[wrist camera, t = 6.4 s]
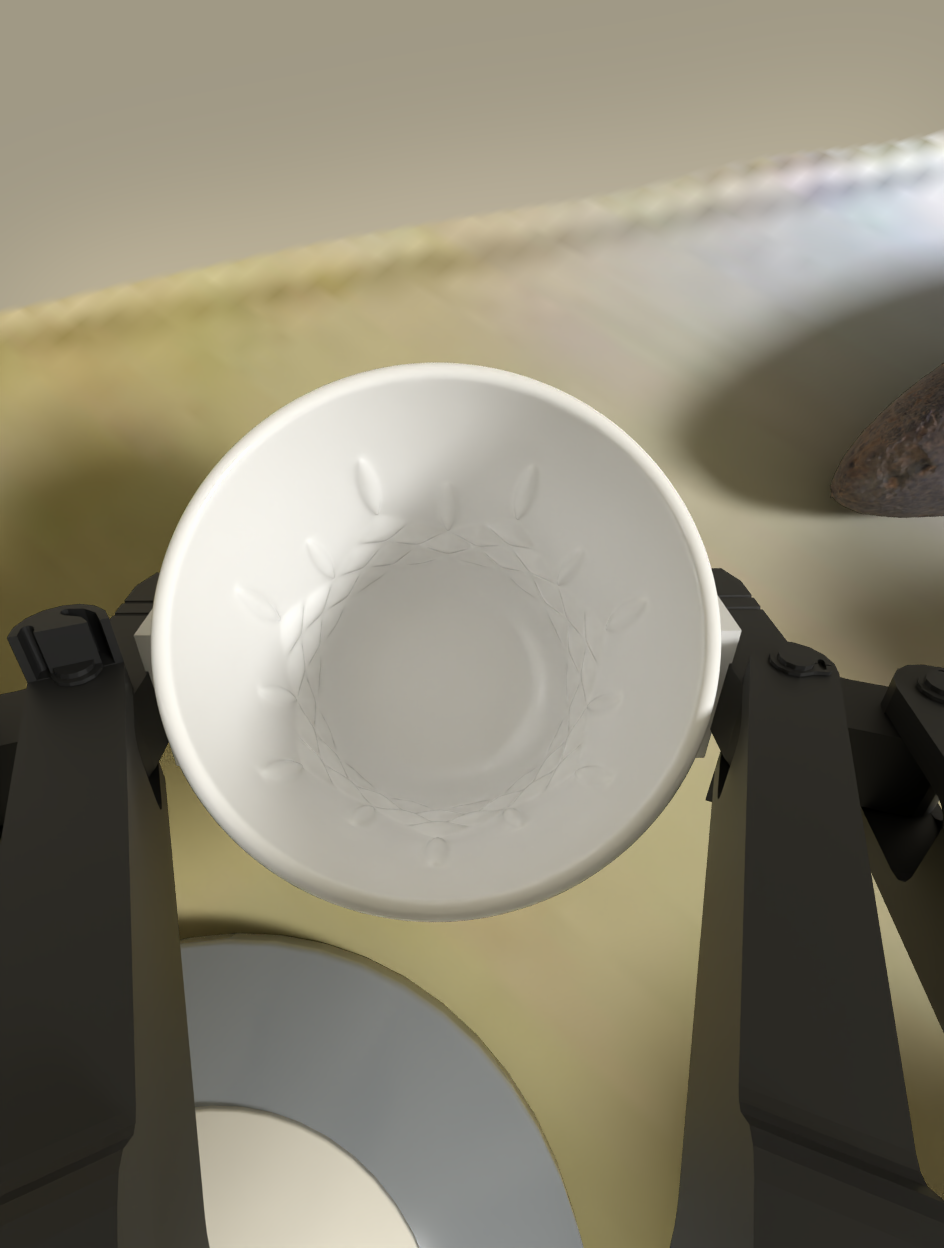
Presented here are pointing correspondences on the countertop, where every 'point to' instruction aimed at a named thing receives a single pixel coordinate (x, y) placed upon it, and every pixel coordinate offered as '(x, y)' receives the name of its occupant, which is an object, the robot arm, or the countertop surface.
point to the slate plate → (354, 1109)
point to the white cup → (435, 642)
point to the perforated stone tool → (899, 457)
